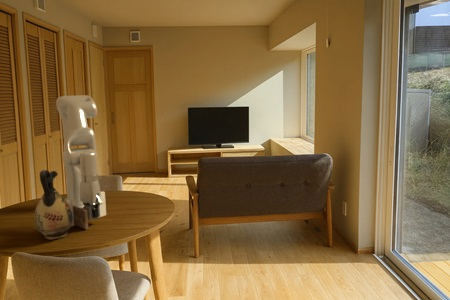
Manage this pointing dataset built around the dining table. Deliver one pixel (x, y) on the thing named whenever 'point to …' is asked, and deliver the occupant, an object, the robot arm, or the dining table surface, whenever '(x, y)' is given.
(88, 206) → the block
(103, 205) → the wall
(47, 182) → the ceramic jug
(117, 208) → the dining table surface
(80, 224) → the door
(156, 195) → the dining table surface
